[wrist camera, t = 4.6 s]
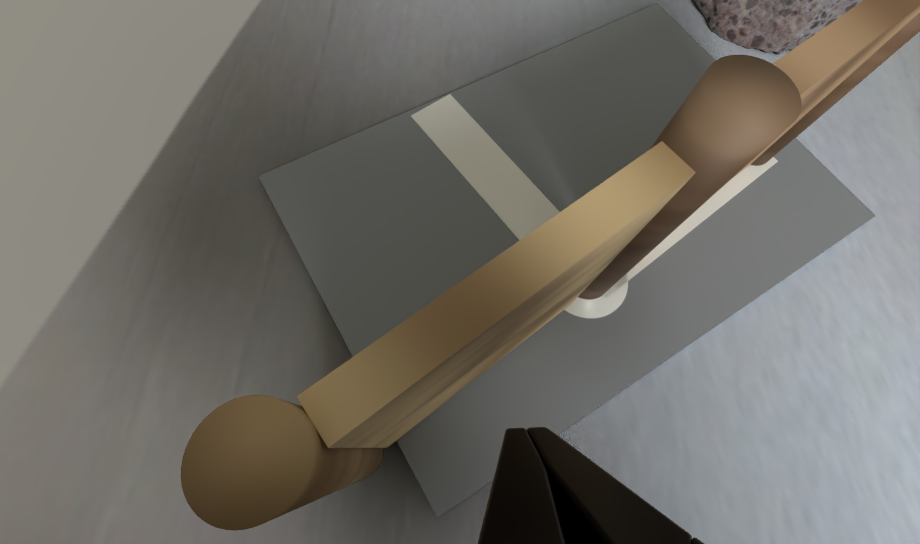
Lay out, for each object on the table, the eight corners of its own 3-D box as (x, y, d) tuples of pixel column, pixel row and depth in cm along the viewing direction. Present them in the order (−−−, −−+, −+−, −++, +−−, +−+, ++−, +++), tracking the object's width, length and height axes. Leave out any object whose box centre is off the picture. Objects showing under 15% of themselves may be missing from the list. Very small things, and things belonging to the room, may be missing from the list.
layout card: (869, 218, 21) (876, 215, 21) (437, 516, 16) (437, 518, 15) (654, 7, 26) (657, 2, 26) (260, 179, 20) (257, 175, 20)
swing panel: (547, 279, 19) (661, 109, 9) (576, 312, 18) (727, 169, 9) (322, 447, 16) (158, 446, 6) (349, 491, 15) (217, 561, 6)
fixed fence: (582, 311, 19) (760, 147, 9) (551, 275, 19) (684, 81, 9) (773, 159, 22) (1061, -85, 12) (742, 133, 23) (994, -124, 13)
